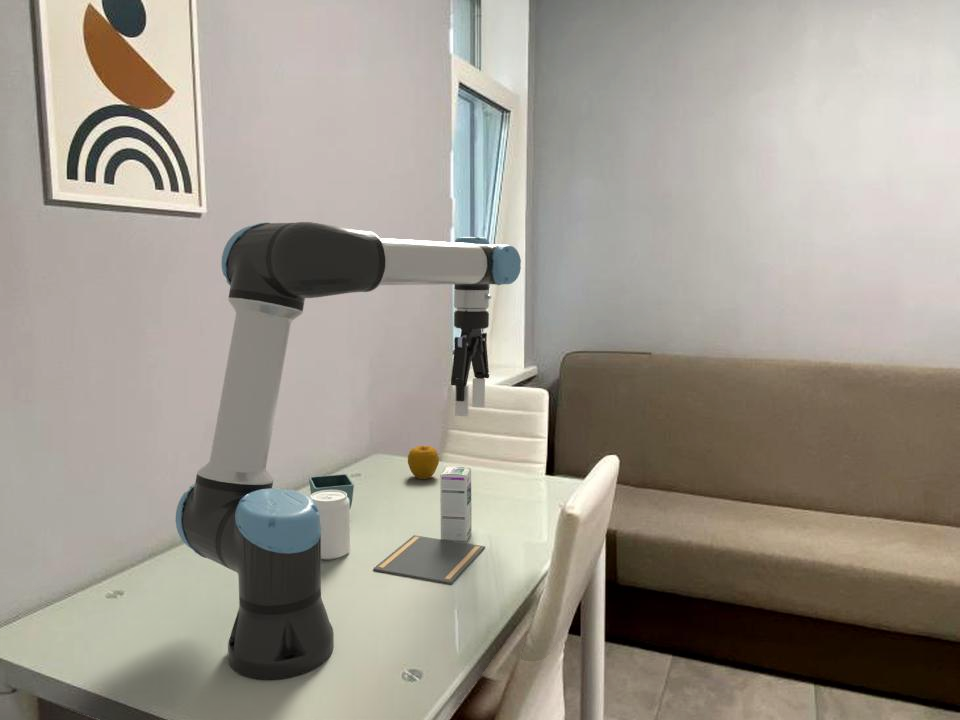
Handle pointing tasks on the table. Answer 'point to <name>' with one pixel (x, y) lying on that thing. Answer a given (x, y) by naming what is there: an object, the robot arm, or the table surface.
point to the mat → (430, 559)
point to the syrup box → (455, 503)
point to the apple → (423, 461)
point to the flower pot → (332, 484)
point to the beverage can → (333, 522)
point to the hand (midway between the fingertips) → (470, 411)
